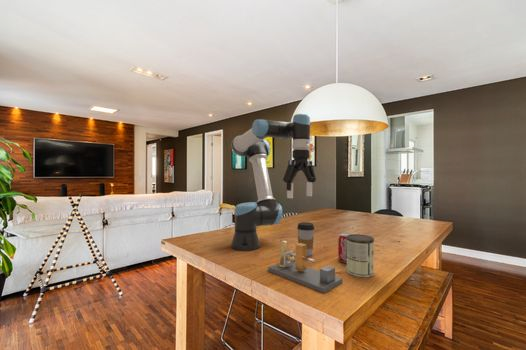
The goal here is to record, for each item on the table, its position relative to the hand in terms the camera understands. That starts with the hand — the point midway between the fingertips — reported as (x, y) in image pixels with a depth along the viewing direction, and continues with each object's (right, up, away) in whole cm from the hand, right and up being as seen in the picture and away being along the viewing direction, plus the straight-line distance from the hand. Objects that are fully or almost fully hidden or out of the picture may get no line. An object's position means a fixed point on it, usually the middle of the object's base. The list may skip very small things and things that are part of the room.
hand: (300, 197), depth 112 cm
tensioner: (+6, -27, -24) cm, 37 cm away
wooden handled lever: (-2, -27, -15) cm, 31 cm away
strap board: (-1, -29, -16) cm, 33 cm away
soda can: (+21, -29, +1) cm, 36 cm away
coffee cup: (+4, -29, +10) cm, 31 cm away
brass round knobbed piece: (-7, -27, -10) cm, 30 cm away
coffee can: (+22, -29, -12) cm, 39 cm away
